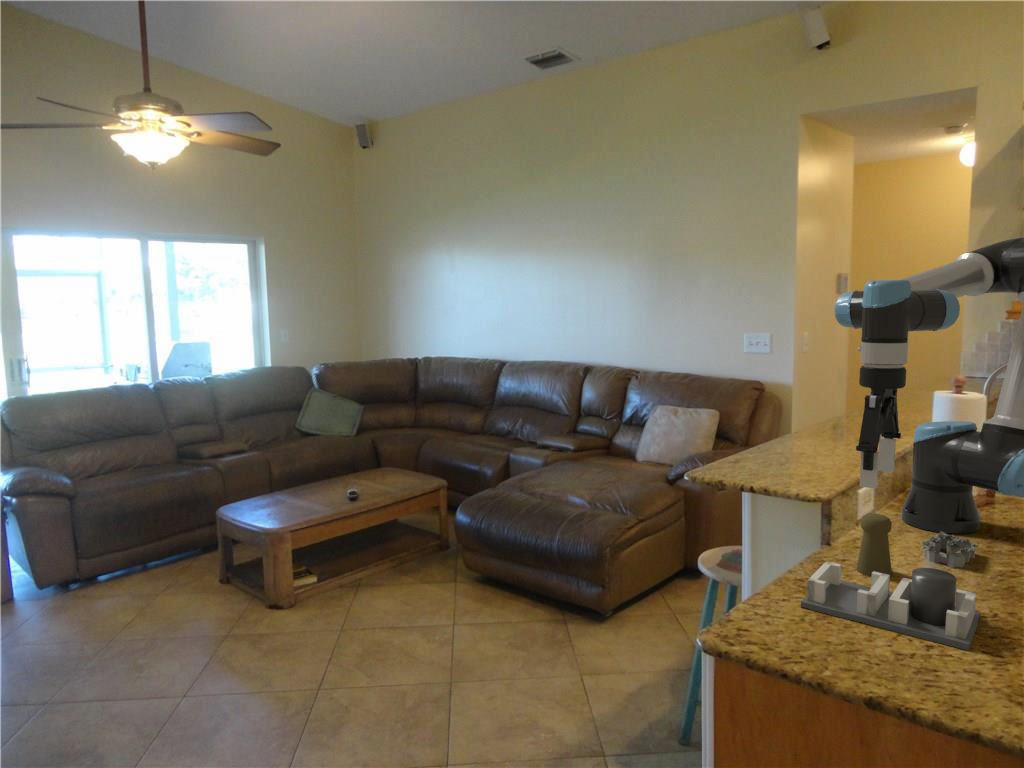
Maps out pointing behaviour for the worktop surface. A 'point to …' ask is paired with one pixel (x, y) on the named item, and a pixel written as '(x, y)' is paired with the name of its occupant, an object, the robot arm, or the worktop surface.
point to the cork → (875, 545)
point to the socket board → (899, 604)
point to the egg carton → (949, 550)
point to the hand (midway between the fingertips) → (877, 479)
